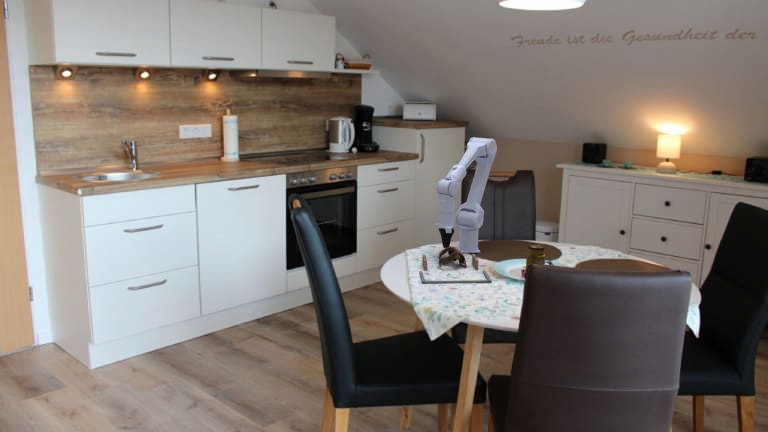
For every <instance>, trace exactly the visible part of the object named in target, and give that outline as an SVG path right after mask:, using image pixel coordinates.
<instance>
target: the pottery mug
mask: <svg viewBox="0 0 768 432" xmlns="http://www.w3.org/2000/svg"><path fill="white" fill-rule="evenodd" d="M446 253H447V254H448V256H445V257H443V255H445V254H446ZM437 258H438V266H439V267H441V266H445V265H450V264H453V265H454V264H455V262H456V261H458V265H462V264H463V265H464V268H465V269H466V268H467V266H468V265H467V260H466V258H465V255H464V253H462V252H461V251H460V250H458V248H457V247H455V246H454V245H452V246H449V247H447V248H443V249H442V250H441V251H440V252H439V253H438V256H437Z"/></svg>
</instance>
